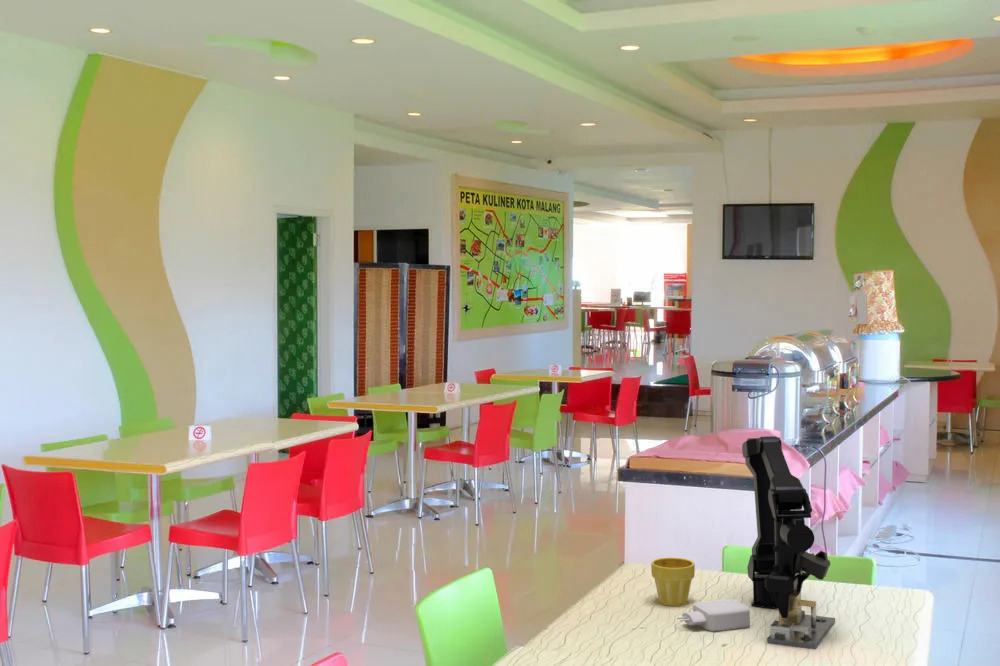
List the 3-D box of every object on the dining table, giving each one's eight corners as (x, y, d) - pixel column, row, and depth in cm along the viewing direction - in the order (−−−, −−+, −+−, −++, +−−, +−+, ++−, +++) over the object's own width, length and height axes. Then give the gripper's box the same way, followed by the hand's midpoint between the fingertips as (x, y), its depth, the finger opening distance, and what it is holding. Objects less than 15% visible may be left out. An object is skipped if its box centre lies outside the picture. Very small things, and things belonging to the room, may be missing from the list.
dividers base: (767, 643, 223) (766, 626, 223) (789, 617, 241) (789, 601, 241) (815, 649, 218) (815, 632, 218) (835, 622, 236) (834, 606, 236)
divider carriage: (778, 626, 230) (778, 594, 230) (783, 621, 233) (782, 590, 233) (813, 630, 226) (813, 598, 226) (818, 625, 230) (817, 593, 230)
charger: (670, 624, 239) (730, 617, 243) (688, 636, 230) (750, 628, 234) (669, 603, 238) (729, 596, 243) (687, 615, 230) (749, 607, 234)
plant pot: (703, 605, 252) (702, 564, 252) (666, 610, 248) (665, 569, 248) (681, 594, 262) (680, 555, 261) (644, 599, 258) (643, 560, 258)
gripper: (816, 553, 218) (818, 628, 219) (835, 535, 234) (836, 604, 235) (763, 549, 223) (764, 622, 224) (784, 531, 240) (786, 599, 240)
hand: (789, 612), depth 231 cm, fingers open, 9 cm apart
